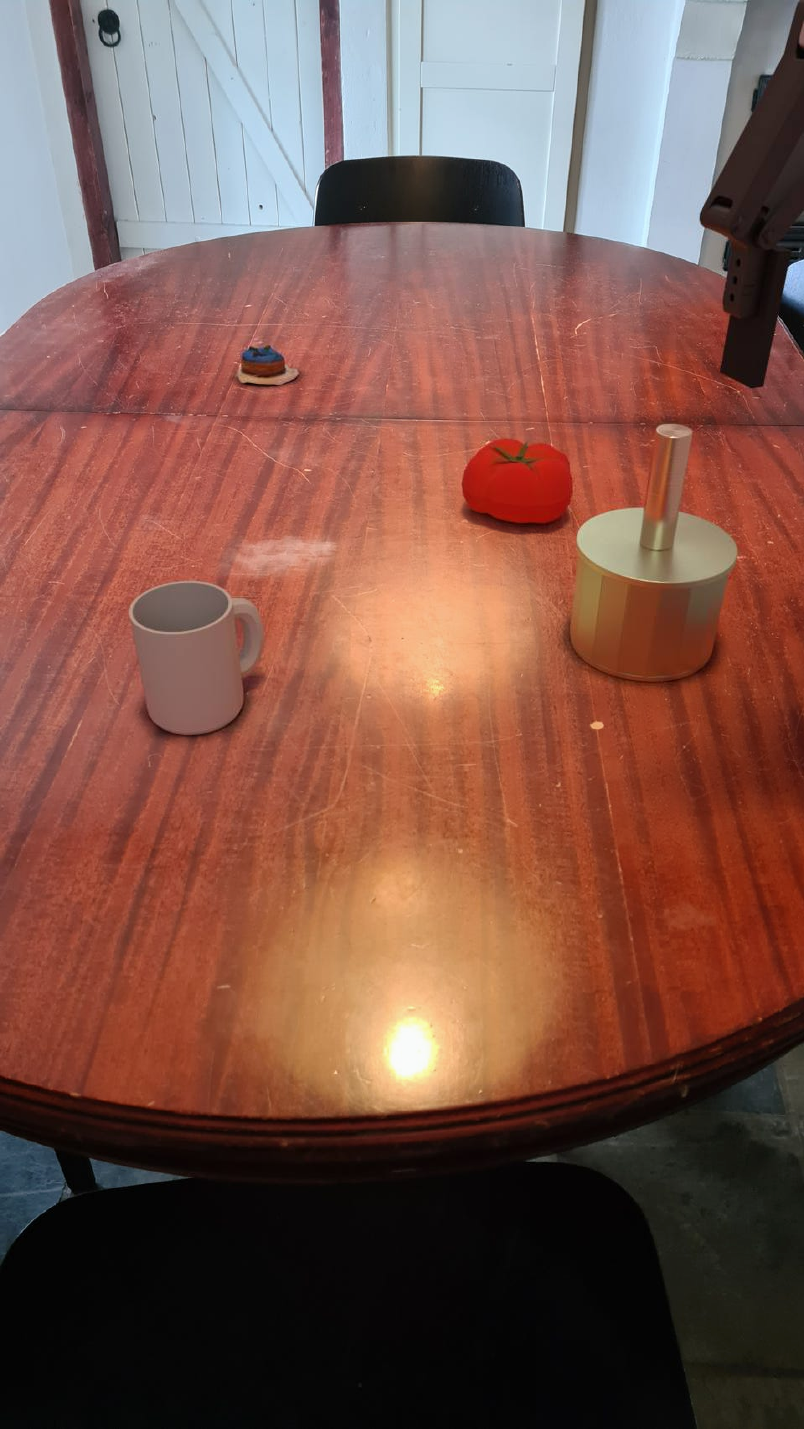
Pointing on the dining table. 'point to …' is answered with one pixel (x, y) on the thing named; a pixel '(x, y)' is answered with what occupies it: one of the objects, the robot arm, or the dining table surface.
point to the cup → (194, 654)
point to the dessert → (264, 367)
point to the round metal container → (643, 626)
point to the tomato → (518, 481)
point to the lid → (659, 529)
